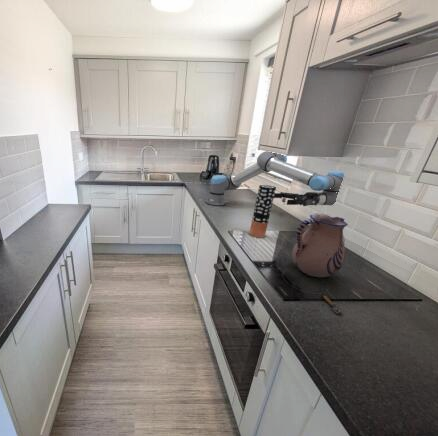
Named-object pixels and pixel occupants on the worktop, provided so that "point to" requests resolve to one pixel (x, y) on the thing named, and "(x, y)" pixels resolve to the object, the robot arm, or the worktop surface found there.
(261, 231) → the cup
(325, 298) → the can opener
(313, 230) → the ceramic pitcher
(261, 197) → the spotted tube
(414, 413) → the worktop surface
